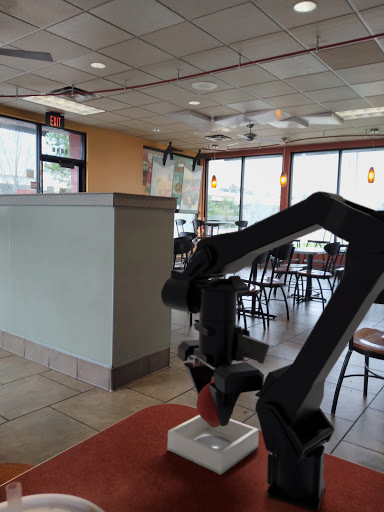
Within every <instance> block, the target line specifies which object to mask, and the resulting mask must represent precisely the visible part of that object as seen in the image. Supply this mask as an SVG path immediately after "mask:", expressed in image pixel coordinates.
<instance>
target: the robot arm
mask: <svg viewBox="0 0 384 512" xmlns="http://www.w3.org/2000/svg"><path fill="white" fill-rule="evenodd" d="M321 229H325V230H326V231H328V232H329V233H331V234H332V235H333V236H335V237H337V238H339V239H340V240H343V241H345V242H346V243H347V247H346V249H345V252H344V261H343V273H342V276H341V279H340V280H339V282H338V283H337V286H336V287H335V289H334V291H333V292H332V294H331V296H330V297H329V300H328V302H327V303H326V305H325V307H324V308H323V310H322V311H321V314H320V315H319V317H318V319H317V320H316V322H315V323H314V325H313V327H312V329H311V330H310V332H309V334H308V335H307V337H306V339H305V342H304V343H303V345H302V347H301V348H300V350H299V352H298V353H297V355H296V357H295V358H294V360H293V362H292V363H290V364H287V365H284V366H283V367H280V368H276V369H274V370H271V371H268V373H267V375H266V376H265V374H264V373H263V372H262V371H261V370H260V369H259V368H257V367H255V366H254V365H252V364H250V363H249V362H243V361H244V359H245V358H247V359H250V360H252V361H256V362H257V363H258V364H262V365H264V363H265V360H266V357H267V354H268V351H269V348H270V346H271V345H270V344H268V343H266V342H264V341H261V340H260V339H257V338H254V337H252V336H251V334H250V333H251V332H250V330H249V329H247V328H244V327H242V326H241V325H237V309H238V308H237V305H238V304H237V301H238V293H244V292H249V291H250V286H248V284H247V283H246V282H245V281H244V280H243V279H242V278H241V276H240V275H232V274H237V273H239V272H240V271H242V270H243V269H245V268H246V267H248V266H249V265H251V264H252V263H253V261H255V260H256V258H257V257H259V256H260V255H261V254H263V253H266V252H269V251H270V250H271V251H272V250H273V249H275V248H276V249H277V248H278V247H280V246H283V245H285V244H287V243H290V242H292V241H295V240H298V239H300V238H303V237H305V236H307V235H309V234H312V233H316V231H320V230H321ZM227 275H229V276H228V277H227V278H226V279H225V278H224V277H226V276H227ZM209 279H210V281H209ZM383 290H384V210H383V209H381V210H380V209H379V210H377V209H373V208H370V207H367V206H365V205H363V204H359V203H356V202H354V201H351V200H349V199H346V198H344V197H343V196H342V195H340V194H338V193H332V192H327V191H321V190H319V191H315V192H313V193H312V194H310V195H308V196H307V197H306V198H304V199H303V200H300V201H298V202H297V203H295V204H292V205H290V206H288V207H286V208H284V209H282V210H280V211H278V212H275V213H273V214H271V215H269V216H267V217H266V218H263V219H261V220H259V221H257V222H255V223H253V224H251V225H248V226H247V227H245V228H243V229H240V230H235V231H231V232H224V233H219V234H214V235H209V236H206V237H203V238H201V239H200V240H198V242H197V243H196V244H195V250H194V252H193V253H192V255H191V257H190V258H189V261H188V262H187V264H186V266H185V267H184V269H172V270H171V271H170V277H169V278H168V279H166V280H165V283H164V284H163V286H162V289H161V291H160V292H161V293H160V295H161V300H162V301H161V302H162V303H163V305H164V306H165V308H168V309H170V310H174V311H179V312H184V313H189V314H194V315H196V314H199V319H198V321H199V322H194V327H193V328H194V330H195V331H197V332H198V339H189V340H183V341H181V343H179V345H178V346H177V358H179V360H180V361H182V362H184V363H183V366H184V367H185V369H186V372H187V375H188V377H189V378H190V380H191V383H192V384H193V387H194V390H195V392H196V396H198V395H199V393H200V391H201V390H202V389H203V388H204V387H205V386H206V385H207V384H209V387H210V391H211V395H212V398H213V402H214V405H215V409H216V413H217V416H218V420H219V423H220V425H221V426H227V425H228V423H229V420H230V419H231V417H232V416H233V414H232V412H233V413H234V409H235V407H236V404H237V401H238V399H240V398H239V397H240V396H241V394H242V393H243V394H244V393H250V392H256V391H258V392H256V393H255V395H254V396H255V397H257V398H258V399H256V402H255V406H254V407H255V410H254V411H255V413H256V415H257V416H256V417H257V418H258V421H259V427H260V431H261V435H262V438H263V443H264V446H265V450H266V451H267V452H268V453H267V473H266V482H267V485H269V487H268V489H267V491H266V496H267V497H268V498H271V499H274V500H277V501H280V502H281V501H282V502H284V503H286V504H287V503H288V504H290V505H294V506H298V507H301V508H305V509H308V510H312V511H315V512H316V511H319V510H320V506H321V502H322V498H323V495H324V490H325V487H326V481H325V480H324V466H325V465H324V464H325V445H324V444H326V443H329V442H330V441H331V439H332V437H333V435H334V432H335V427H334V426H333V424H332V422H330V420H329V419H328V417H327V416H326V415H325V413H324V412H323V410H322V409H321V405H322V402H323V399H324V397H325V396H324V395H325V383H326V379H327V378H328V376H329V375H330V373H331V372H332V370H333V368H334V366H335V365H336V364H337V361H339V359H340V357H341V356H342V354H343V352H344V351H345V349H346V347H347V346H348V344H350V341H351V339H352V338H353V336H354V335H355V334H356V332H357V330H358V329H359V327H360V325H361V323H362V321H363V320H364V319H365V317H366V315H367V314H368V312H369V311H370V309H371V307H372V306H373V304H374V303H375V301H376V300H377V298H378V296H379V295H380V293H381V292H382V291H383ZM187 361H188V362H187ZM234 361H236V362H238V363H233V362H234ZM239 362H241V363H239ZM212 377H214V382H215V383H211V381H212Z"/></svg>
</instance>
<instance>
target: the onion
mask: <svg viewBox="0 0 384 512" xmlns="http://www.w3.org/2000/svg"><path fill="white" fill-rule="evenodd" d="M211 383H215V382H214V377H212V381H211ZM195 404H196V410H197V412H198V415H200V416H201V417H202V418H203V419H204V420H205V421H206V422H207V423H208V424H209V425H210V426H211V427H213V428H216V427H218V426H220V423H219V420H218V416H217V413H216V409H215V405H214V402H213V398H212V395H211V391H210V387H209V384H207V385H206V386H205V387H204V388H203V389H202V390H201V391H200V393H199V395H197V399H196V403H195ZM233 413H234V411H233V412H232V415H233Z"/></svg>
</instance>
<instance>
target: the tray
mask: <svg viewBox="0 0 384 512" xmlns="http://www.w3.org/2000/svg"><path fill="white" fill-rule="evenodd" d="M258 448H259V428H258V427H257V428H256V427H254V426H252V425H248V424H245V423H243V422H240V421H237V420H234V419H232V418H230V420H229V423H228V425H227V426H221V425H220V426H218V427H216V428H213V427H211V426H210V425H209V424H208V423H207V422H206V421H205V420H204V419H203V418H202V417H201V416H200V414H197V415H196V416H194V417H193V418H191V419H189V420H186V421H185V422H183V423H181V424H179V425H177V426H174V427H173V428H171V429H169V430H168V431H167V448H166V449H167V451H170V452H172V453H174V454H175V455H178V456H180V457H182V458H184V459H186V460H188V461H191V462H192V463H195V464H197V465H199V466H201V467H203V468H205V469H208V470H210V471H212V472H214V473H216V474H219V475H221V476H222V475H223V474H224V473H226V472H227V471H228V470H230V469H231V468H233V467H234V466H235V465H237V463H239V462H241V461H242V460H243V459H244V458H246V457H247V456H248V455H250V454H252V453H253V452H255V451H256V450H257V449H258Z"/></svg>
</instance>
